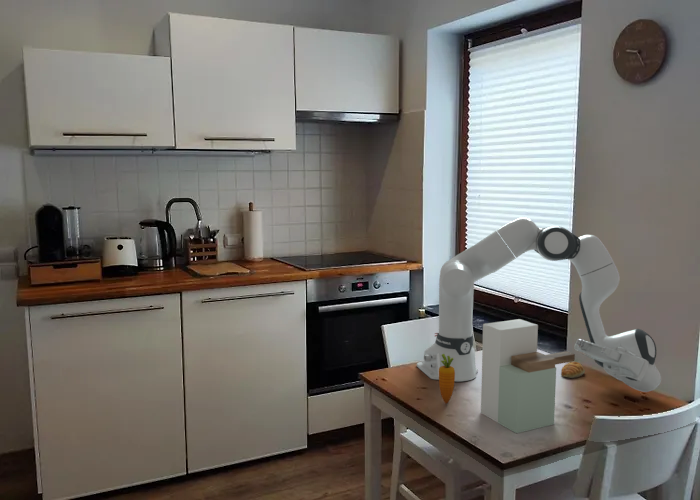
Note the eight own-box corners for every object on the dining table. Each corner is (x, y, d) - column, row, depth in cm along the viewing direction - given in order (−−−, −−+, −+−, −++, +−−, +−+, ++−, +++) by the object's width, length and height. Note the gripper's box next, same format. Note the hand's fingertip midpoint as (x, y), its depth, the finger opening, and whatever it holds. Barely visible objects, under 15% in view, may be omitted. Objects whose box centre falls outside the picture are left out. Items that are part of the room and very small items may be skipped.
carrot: (457, 405, 176) (458, 356, 174) (442, 407, 175) (443, 358, 173) (450, 399, 181) (451, 351, 179) (434, 401, 179) (435, 353, 177)
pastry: (576, 381, 197) (576, 370, 197) (556, 377, 201) (556, 366, 201) (585, 373, 204) (586, 362, 204) (565, 369, 209) (566, 359, 208)
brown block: (511, 364, 163) (511, 356, 163) (561, 356, 171) (561, 347, 170) (529, 372, 157) (529, 363, 157) (580, 363, 165) (580, 354, 164)
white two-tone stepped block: (480, 412, 171) (483, 324, 168) (516, 405, 176) (519, 319, 173) (516, 433, 157) (519, 337, 154) (553, 424, 163) (557, 331, 160)
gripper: (596, 344, 186) (567, 327, 180) (654, 363, 167) (624, 344, 162) (587, 363, 185) (559, 346, 179) (645, 383, 167) (615, 365, 161)
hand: (590, 345), depth 170 cm, fingers open, 8 cm apart
